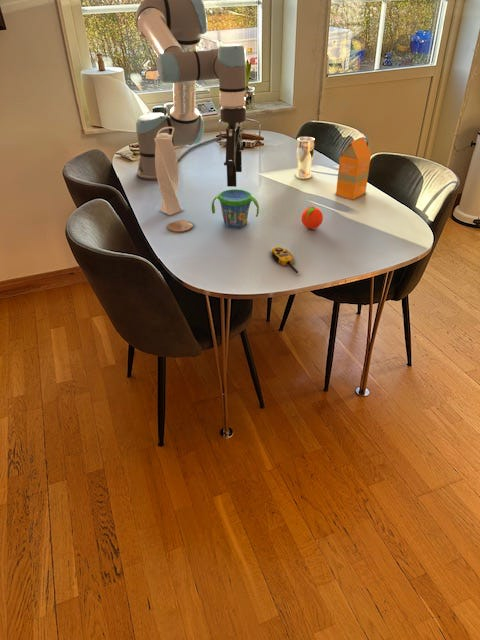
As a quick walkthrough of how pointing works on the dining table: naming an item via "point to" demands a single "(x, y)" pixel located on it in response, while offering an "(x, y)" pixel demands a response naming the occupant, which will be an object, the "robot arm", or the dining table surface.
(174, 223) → the cork coaster
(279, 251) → the yellow walkie talkie
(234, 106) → the robot arm
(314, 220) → the clementine
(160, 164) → the skyscraper
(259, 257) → the dining table surface
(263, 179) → the dining table surface
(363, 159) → the orange juice
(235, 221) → the snack cup
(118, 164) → the dining table surface
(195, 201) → the dining table surface
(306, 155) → the beer glass
